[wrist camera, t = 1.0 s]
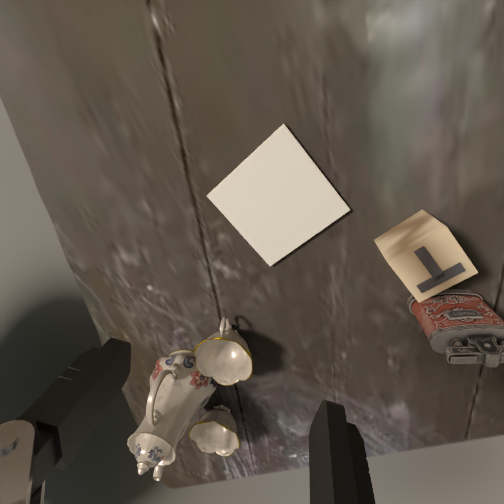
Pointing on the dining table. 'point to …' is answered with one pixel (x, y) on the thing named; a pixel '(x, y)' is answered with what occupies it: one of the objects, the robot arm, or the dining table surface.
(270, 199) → the pad
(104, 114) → the dining table surface
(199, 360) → the chinaware
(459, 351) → the lighter
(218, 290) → the dining table surface
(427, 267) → the letter block
